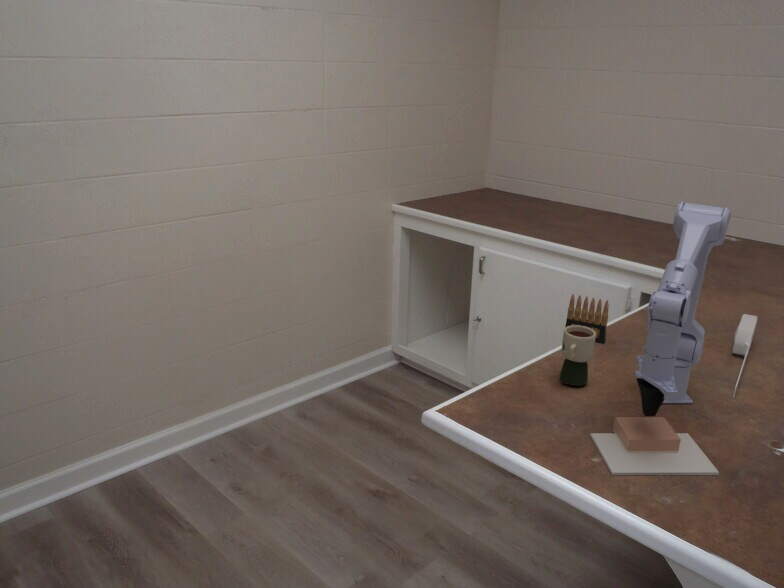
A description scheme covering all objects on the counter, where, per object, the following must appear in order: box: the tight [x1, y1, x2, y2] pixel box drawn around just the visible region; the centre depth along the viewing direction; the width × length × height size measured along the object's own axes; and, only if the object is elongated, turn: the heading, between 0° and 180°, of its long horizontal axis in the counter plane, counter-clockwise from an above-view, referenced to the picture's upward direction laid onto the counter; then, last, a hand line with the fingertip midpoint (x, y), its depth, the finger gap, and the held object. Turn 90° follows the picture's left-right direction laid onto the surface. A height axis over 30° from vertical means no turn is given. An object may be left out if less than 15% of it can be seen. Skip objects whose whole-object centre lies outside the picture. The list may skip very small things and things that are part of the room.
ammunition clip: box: [564, 293, 610, 345], centre depth 177 cm, size 11×2×12 cm, turn 63°
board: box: [589, 432, 720, 476], centre depth 130 cm, size 13×20×1 cm, turn 92°
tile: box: [612, 416, 681, 453], centre depth 133 cm, size 3×10×8 cm
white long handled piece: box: [732, 313, 758, 400], centre depth 166 cm, size 38×8×4 cm
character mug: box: [559, 325, 596, 387], centre depth 154 cm, size 11×7×13 cm, turn 148°
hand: (648, 414), depth 131 cm, fingers closed
